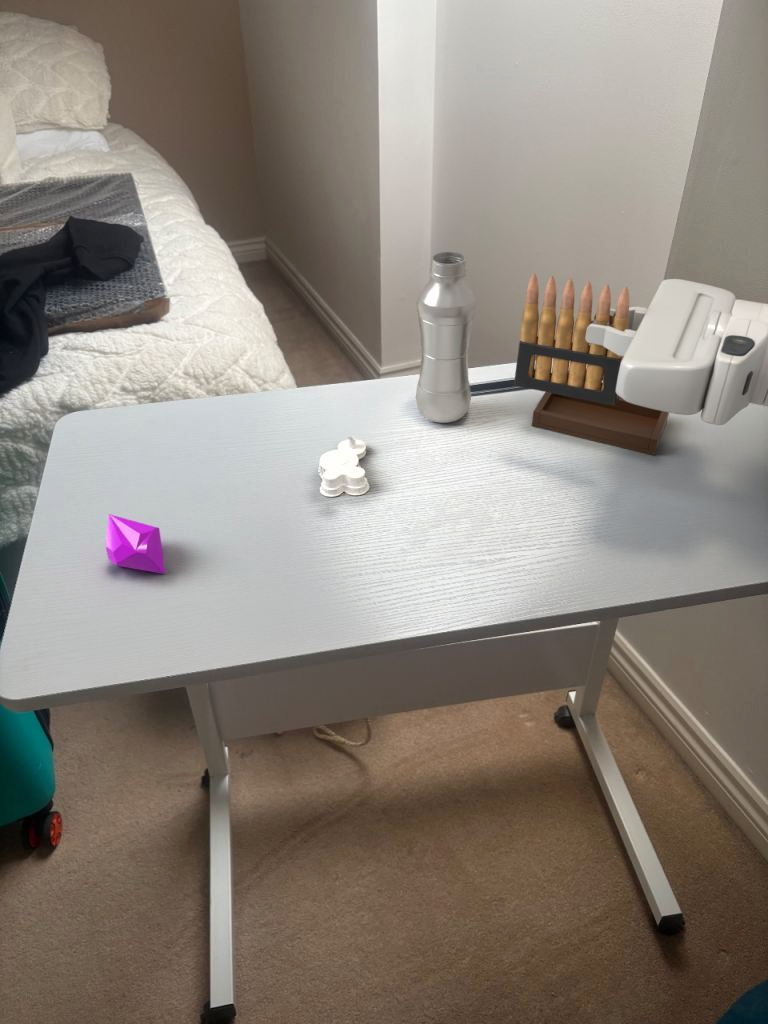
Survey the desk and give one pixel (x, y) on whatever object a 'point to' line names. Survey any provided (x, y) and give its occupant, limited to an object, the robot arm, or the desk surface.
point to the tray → (602, 421)
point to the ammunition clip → (568, 344)
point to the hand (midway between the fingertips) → (591, 324)
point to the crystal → (134, 545)
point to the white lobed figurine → (343, 469)
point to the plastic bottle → (445, 340)
